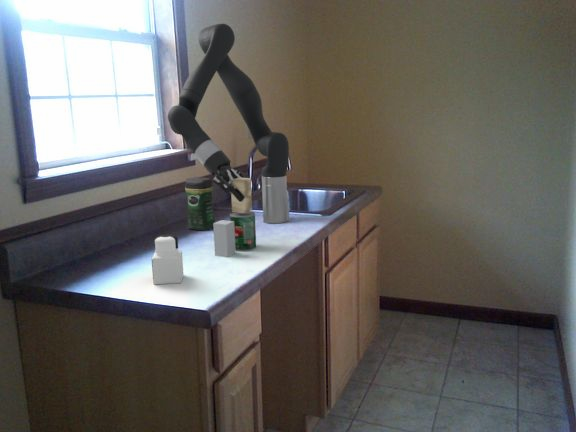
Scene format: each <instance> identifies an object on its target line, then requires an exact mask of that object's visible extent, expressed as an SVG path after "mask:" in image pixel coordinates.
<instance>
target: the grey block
mask: <svg viewBox="0 0 576 432" xmlns="http://www.w3.org/2000/svg"><path fill="white" fill-rule="evenodd" d="M212 229H213V242H214V246H213V247H214V256H215V257H221V258H222V257H223V258H229V257H231V256H233V255H235V254H236V252H237V251H235V230H234V221H230V220H224V219H222V220H218V221H215V223H213V228H212Z"/></svg>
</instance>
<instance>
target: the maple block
mask: <svg viewBox="0 0 576 432" xmlns="http://www.w3.org/2000/svg"><path fill="white" fill-rule="evenodd" d="M233 183H234V184H235V185H236V187H237V188H238V189H239V191H240V192H241V193H242V194H243V195H244V196H245V198H244V199H243V200H242V201H241V202H239V201H238V199H237V198H236V197H235V196H234V195H233V194H232V193H230V195H231V197H230V198H231V213H233V212H241V213H245V212H248V211H250V212H252V211H253V201H252V199H253V196H251V192H252V178H250V177H246V178H235V179H234V180H233ZM231 186H232V185H231ZM237 188H236V189H237Z"/></svg>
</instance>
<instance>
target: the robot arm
mask: <svg viewBox="0 0 576 432" xmlns="http://www.w3.org/2000/svg"><path fill="white" fill-rule="evenodd" d="M235 39H236V38H235V32H234V30H233V28H232V27H231V26H229V24H227V23H215V24H213V25H210V26H207V27H205V28H202V29H201V30H200V32H199V33H198V43H199V46H200V48H201V50H202V51H203V54H204V56H203V57H202V59H201V60H200V62H198V64H197V65H196V66H195V68H194V69H193V70H192V71H191V72H190V74H189V75H188V77H187V78H186V80H185V83H184V84H183V86H182V88H181V90H180V93H179V97H178V99H179V100H178V105H177V104H176V105H174V106H172V107H171V108H169V110H168V112H167V120H168V122H169V126H170V129H171V130H172V132H174V133H175V134H176V135H180V136H181V137H182V139H183V140H184V142H185V144H186V145H187V147H188V148H189V150H190V151H191V152H192V153H193V155H195V157H196V158H197V160H198V161H199V162H200V164H201V165H202V166H203V167H204V169H206V171H208V173H209V174H210V176H212V177H214V178H213V179H212V183H215V184H216V185H217V186H218V187H219V188H220V189H221V190H222V191H223V192H225V193H226V194H228V193H229V194H231V193H232V194H233V195H234V196H235V197H236V198H237V199H238V201H239V202H241V201H242V200H243V199H244V198H245V196H244V195H243V194H242V193H241V192H240V191H239V189H238V188H237V187H236V185H235V184H234V183H233V180H234V179H235V178H247V177H246V176H245V174H244V172H243V171H242V170H241V168H238V169H235V168H233V167H232V166H231V159H230V158H229V157H228V156H227V155H226V154H225V152H224V151H223V150H222V149H221V147H219V145H218V144H217V143H215V142H214V141H213V140H212V139H211V137H210V136H209V135H208V134H207V133H206V131H204V130H203V129H202V127H201V126H200V124H199V122H198V121H197V120H196V117H197V113H198V109H199V106H200V104H201V102H202V101H203V98H204V96H205V94H206V91H207V90H208V87H209V85H210V83H211V81H212V79H213V77H214V76H215V74H216V73H217V74H218V76H219V78H220V80H221V81H222V83H223V84H224V86H225V88H226V90H227V92H228V93H229V96H230V98H231V99H232V101H233V103H234V106H235V107H236V108H237V110H238V112H239V114H240V116H241V117H242V120H244V122H245V124H246V126H247V129H248V130H249V133H250V134H251V136H252V139H253V142H254V144H255V147H256V149H257V150H258V152H259V153H260V154H261V155H262V156H265V157H266V158H267V159H266V165H265V166H263V167H262V169H261V192H262V195H261V196H262V198H261V199H262V221H263V223H266V224H281V223H286V222H290V200H289V199H290V197H289V195H288V186H287V185H288V184H287V183H288V181H287V170H288V169H289V163H290V162H289V161H290V160H289V159H290V157H289V155H290V145H289V140H288V138H287V136H286V135H285V134H284V133H283V132H277V131H272V130H271V128H270V126H269V125H268V123H267V121H266V119H265V117H264V114H263V103H262V99H261V96H260V93H259V90H258V89H257V87H256V85H255V83H254V81H253V80H252V79H251V78H250V77H249V76H248V74H246V73H245V72H244V71H243V70H242V69H240V68H239V67H238V66H237V65H236V64H235V63H234V62H233V60H231V58H230V56H229V53H230V51H231V50H232V48H233V46H234V44H235V42H236V41H235ZM231 185H232V186H231ZM236 188H237V189H236ZM251 196H252V197H253V196H254V193H253V192H252V191H251Z"/></svg>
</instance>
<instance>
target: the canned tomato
mask: <svg viewBox="0 0 576 432" xmlns="http://www.w3.org/2000/svg"><path fill="white" fill-rule="evenodd" d="M229 221H234V230H235V252H249V251H253V250H255V249H257V234H256V232H257V231H256V229H257V228H256V213H255V212H253V211H248V212H245V213H241V212H231V213H230V214H229Z"/></svg>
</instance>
